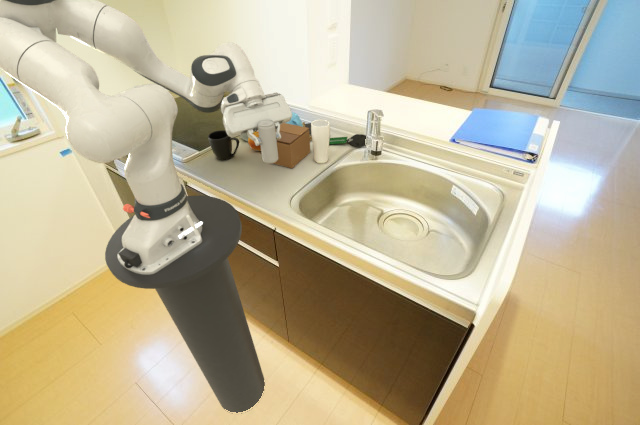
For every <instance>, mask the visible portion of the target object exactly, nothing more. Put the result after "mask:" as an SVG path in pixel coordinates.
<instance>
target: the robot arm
mask: <svg viewBox="0 0 640 425" xmlns="http://www.w3.org/2000/svg"><path fill="white" fill-rule="evenodd" d="M57 34H58V35H61V36H69V37H70V38H72V39H74V40H76V41H77V42H79V43H81V44H83V45H85V46H87V47H89V48H90V49H93V50H95V51H97V52H99V53H102V54H104V55H107V56H108V57H110V58H112V59H114V60H116V61H118V62H120V63H121V64H123V65H124V66H126V67H128V68H129V69H131V70H132V71H134V72H135V73H137V74H138V75H139V76H142V77H143V78H145V79H146V80H148V81H150V82H152V83H145V84H137V85H134V86H131V87H129V88H126V89H125V90H123V91H121V92H118V93H116V94H113V95H109V94H105V93H103V92H102V91H100V79H99V76H98V74H97V72H96V70H95V68H94V67H93V66H92V65H91V64H90V63H88V62H86V61H85V60H83V59H82V58H80V57H79V56H77V55H76V54H75V53H73V52H71V51H70V50H68V49H66V48H65V46H63V45H61V44H59V43H58V42H57ZM0 69H1V70H2V71H3V72H5V73H6V74H7V75H8V76H10V77H11V78H13V79H15V80H16V81H17V82H19V83H20V84H22V85H23V86H25V87H26V88H28V89H30V90H31V91H33V92H34V93H36V94H37V95H39V96H41V97H42V98H44V99H45V100H47V101H48V102H49V103H51V104H52V105H53V106H55V107H56V108H57V109H59V111H61V113H62V114H63V115H64V117H65V119H66V125H65V133H66V134H65V135H66V137H67V140H68V142H69V144H70V146H71V147H72V149H73V150H74V151H75V152H76V153H77V154H79V155H80V156H81V157H83V158H84V159H86V160H88V161H90V162H93V163H97V164H107V163H110V162H113V161H116V160H119V159H122V158H124V157H126V156H128V157H127V159H126V162H125V165H124V169H123V173H124V177H125V180H126V182H127V184H128V187H129V188H130V190H131V192H132V194H133V196H134V205H131V204H130V203H126V204H124V205H123V207H122V211H124V212H126V213H127V214H133V213H134V214H133V216H134V217H133V219H132V221H131V222H130V224H129V226H128V227H127V229H126V231H125V232H124V234H123V236H122V245H123V249H122V250H121V251H120V252H119V253H118V255H117V256H118V260H119V262H120V264H121V265H122V266H123V267H125V268H126V269H128V270H130V271H132V272H135V273H138V274H143V275H150V274H154V273H156V272H158V271H159V270H161V269H162V268H164V267H165V266H167V265H169V264H170V263H172V262H173V261H175V260H176V259H178V258H179V257H181V256H182V255H184V254H185V253H187V252H188V251H190V250H191V249H193V248H194V247H196V246H197V245H199V244H200V243H202V237H201V232H202V224H203V223H202V221H201V222H200V221H199V220H198V219H197V217H196V216H195V214H194V213H193V211H192V209H191V208H190V206H189V203H188V201H187V196H188V195H187V193H186V190H185V187H184V185H183V184H182V183H181V181H180V178H179V176H178V175H179V174H178V172H177V169H176V166H175V162H174V157H173V155H174V154H173V132H174V125H175V122H176V119H177V117H178V115H179V114H178V113H179V109H178V104H177V101H176V100H175V97H174V96H173V95H172V94H174V95H176V96H179V98H181V99H183V100H185V102H187V103H188V104H189V105H190V106H192V108H194V109H195V110H197V111H199V112H201V113H206V114H211V113H215V112H217V111H219V110H220V112H221V114H222V124H223V127H224V130H225V131H226V133H227V135H228V136H230V137H231V138H237V137H240V135H243V134H246V133H247V136H248V137H249V138H250V139H252V140H253V141H254V142H255V144H256V146H259V145H261V144H262V141H261V139H260V137H259V138H257V137H256V136H255V135H253V133H254V132H257V131H258V126H257V125H258V122H259V121H261V120H265V119H269V120H273V121H274V124H275V129H276V140H279V139H281V135H280V133H279V131H280V124H283V123H286V122H289V121H290V120H291V118H292V112H293V111H292V109H291V108H290V106H289V105H288V104H289V103H288V102H287V100H286V99H285V96H284V94H282V93H279V92H273V93H267V94H265V93H264V90H263V88H262V86H261V84H260V81H259V80H258V79H257V78H256V75H255V70H254V68H253V66H252V63H251V61H250V59H249V58H248V56H247V54H246V53H245V51H244V50H243V49H242V47H241V46H240V45H238V44H237V43H234V42H230V41H229V42H223V43H220V44H218V45H217V47H215V50H214V51H213V52H210V53H209V54H204V55H199V56H197V57H196V58H194V60H193V61H192V63H191V66H190V75H186V74H184V73H182V72H180V71H179V70H177V69H175V68H173V67H171V66H169V65H168V64H166V63H165V62H164V61H162V60H161V59H160V57H159V56H157V54H156V53H155V51H154V50H153V48H152V46H151V44H150V42H149V41H148V38H147V37H146V35H145V33H144V31H143V29H142V28H141V26H140V24H138V22H137V21H136V20H134V19H133V18H132V17H130V16H129V15H127V14H126V13H124V12H123V11H121V10H120V9H117V8H116V7H115V8H114V7H113V6H111V5H109V4H106V3H104V2H102V1H99V0H0ZM227 92H228V93H229V94H228V95H226V96H225V93H227ZM171 93H172V94H171Z"/></svg>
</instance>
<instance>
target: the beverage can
mask: <svg viewBox="0 0 640 425" xmlns="http://www.w3.org/2000/svg"><path fill="white" fill-rule="evenodd" d="M257 126H258V130H257V131H258V133H259V137H260V139H261V141H262V144H261V145H260V146H261V151H260V152H261V158H262V161H263V163H265V164H273V163H275V162H276V161H277V160H278V150H277V141H276V132H275V124H274V121H273V120H269V119H265V120H261V121H259V122H258V125H257Z"/></svg>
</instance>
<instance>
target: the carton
mask: <svg viewBox="0 0 640 425" xmlns="http://www.w3.org/2000/svg"><path fill="white" fill-rule="evenodd" d="M308 129H309V128H307V127H302V126H297V125H292V124H287V123H283V124H280V132H285V133H290V134H294V135H299V136H300V137H299V138H297V139H296V140H295V141H293V142H292V143H291V144H288V143H283V142H279V141H277V150H278V160H277V161H276V162H275V163H272V164H273V165H277V166H282V167H284V168H289V169H293V168H295V166H297V165H298V164H299V163H300V162H301V161H302V160H303V159H304V158H306V157H307V156H308V155H309V154H311V141H310V136H311V135H310V134H309V130H308ZM275 130H276V129H275Z"/></svg>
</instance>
